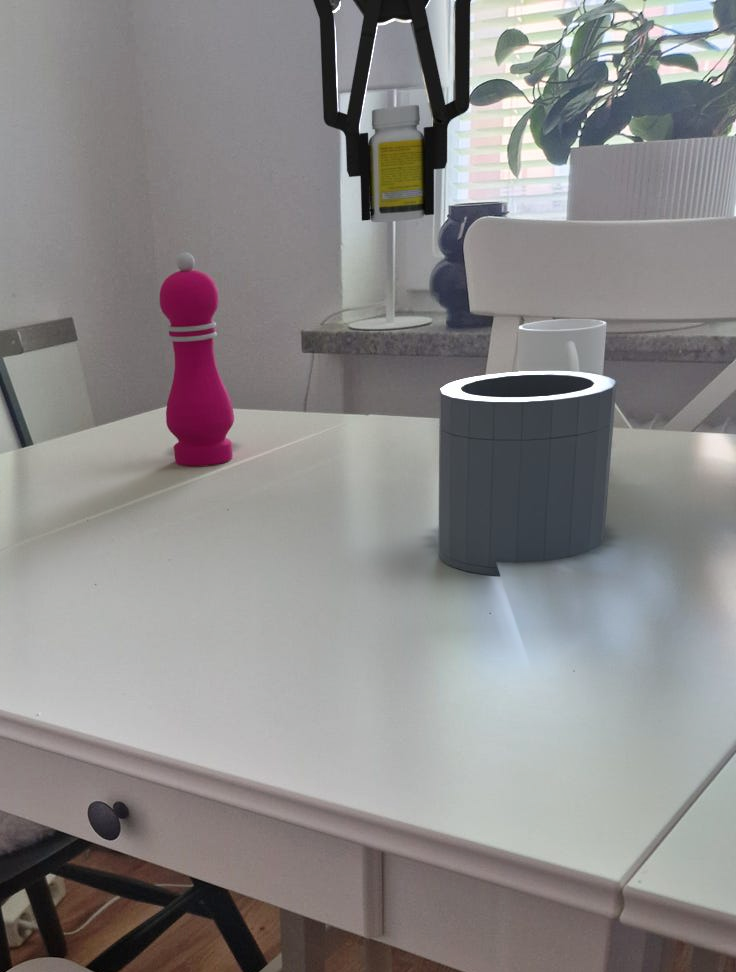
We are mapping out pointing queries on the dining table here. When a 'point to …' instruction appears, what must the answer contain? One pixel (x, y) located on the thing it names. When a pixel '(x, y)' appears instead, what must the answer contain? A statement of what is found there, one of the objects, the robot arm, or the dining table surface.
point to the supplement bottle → (396, 165)
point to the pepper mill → (195, 369)
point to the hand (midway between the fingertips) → (397, 216)
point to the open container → (523, 467)
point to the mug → (562, 346)
